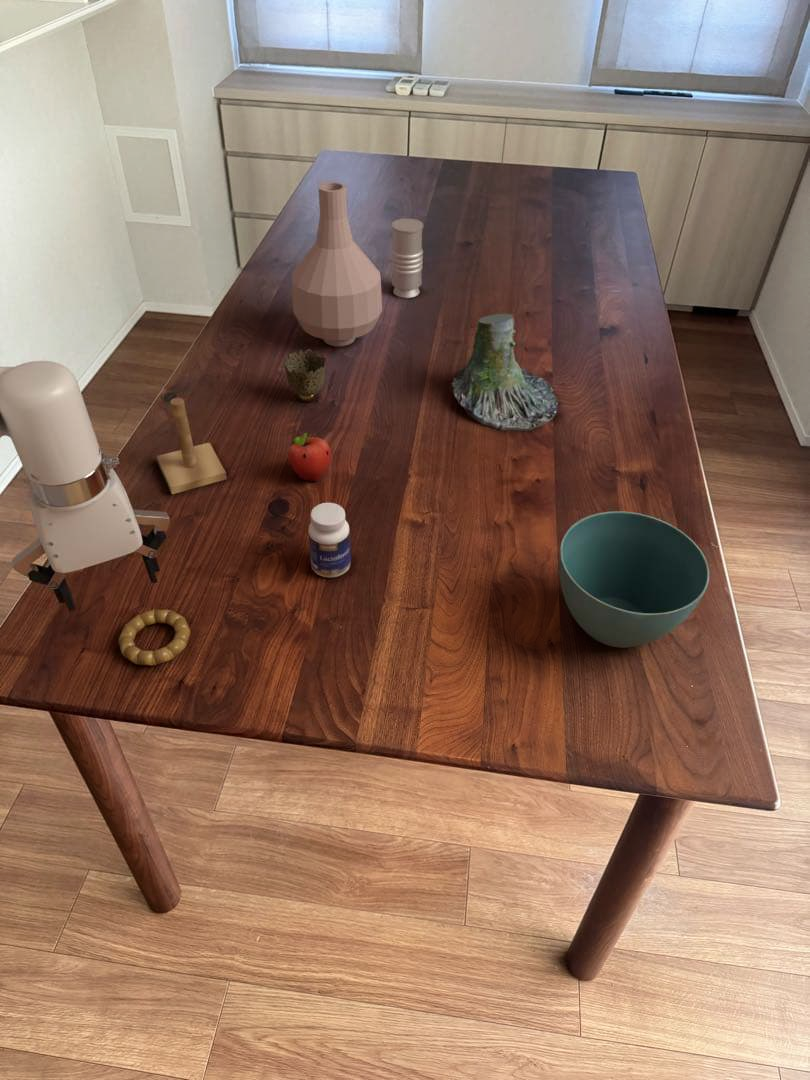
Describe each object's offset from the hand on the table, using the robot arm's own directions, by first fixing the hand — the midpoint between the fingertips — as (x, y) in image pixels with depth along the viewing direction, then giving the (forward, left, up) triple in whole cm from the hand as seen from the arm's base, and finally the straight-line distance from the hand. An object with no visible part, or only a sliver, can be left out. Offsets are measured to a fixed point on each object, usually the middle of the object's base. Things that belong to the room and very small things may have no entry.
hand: (111, 589), depth 95 cm
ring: (+3, 0, -11) cm, 11 cm away
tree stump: (+74, +29, -12) cm, 80 cm away
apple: (+34, +23, -12) cm, 43 cm away
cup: (+42, +45, -12) cm, 63 cm away
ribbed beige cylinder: (+78, +76, -12) cm, 110 cm away
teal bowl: (+59, -24, -12) cm, 65 cm away
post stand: (+17, +33, -11) cm, 39 cm away
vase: (+56, +63, -12) cm, 85 cm away
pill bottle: (+29, +3, -12) cm, 31 cm away
